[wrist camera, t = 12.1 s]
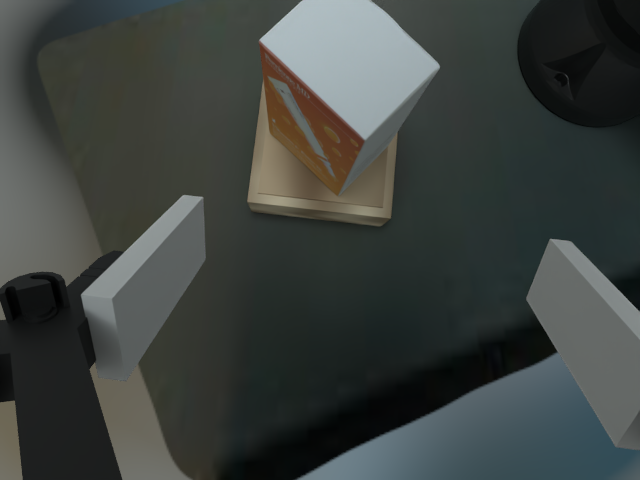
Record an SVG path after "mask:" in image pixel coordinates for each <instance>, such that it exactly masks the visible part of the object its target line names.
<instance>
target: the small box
mask: <svg viewBox="0 0 640 480" xmlns="http://www.w3.org/2000/svg"><path fill="white" fill-rule="evenodd" d="M259 45H260V53H261V61H262V70H263V80H264V89H265V96H266V106H267V114H268V123H269V132H270V134H271V135H273V136H274V137H275V138H276V139H277V140H278V141H280V142H281V143H282V144H283V145H284V146H285V147H286V148H287V149H288V150H290V151H291V152H292V153H293V154H294V155H295V156H296V157H297V158H298V159H299V160H300V161H301V162H302V163H303V164H305V165H306V166H307V167H308V168H309V169H310V170H311V171H312V172H313V173H314V174H315V175H316V176H317V177H318V178H319V179H320V180H321V181H322V182H323V183H324V184H325V185H326V186H327V187H328V188H329V189H330V190H331V191H332V192H333V193H334V194H335V195H337V196H339V195H341V194H342V193H343V191H344V190H345V189H346V188H347V187H348V186H349V185H350V184H351V183H352V182H353V181H354V180H355V179H356V178H357V177H358V176H359V175H360V174H361V173H362V172H363V171H364V170H365V169H366V168H367V167H368V166H369V165H370V164H371V163H372V162H373V161H374V160H375V159H376V158H377V157H378V156H379V155H380V154H381V153H382V152H383V151H384V150H385V149H386V148H387V146H388V145H389V144H390V142H391V141H392V139H393V138H394V136H395V135H396V133H397V132H398V130H399V129H400V127H401V126H402V124H403V123H404V121H405V120H406V118H407V116H408V115H409V113H410V112H411V110H412V109H413V107H414V106H415V104H416V103H417V101H418V100H419V98H420V97H421V95H422V94H423V92H424V91H425V89H426V88H427V86H428V85H429V83H430V82H431V80H432V79H433V77H434V76H435V74H436V73H437V72H438V70H439V69H440V66H439V64H438V62H436V61H435V60H434V59H433V58H432V57H431V56H430V55H429V54H428V53H427V52H426V51H425V50H424V49H423V48H422V47H421V46H420V45H419V44H418V43H417V42H415V41H414V40H413V39H412V38H411V37H410V36H409V35H408V34H407V33H406V32H405V31H404V30H403V29H402V28H401V27H400V26H399V25H398V24H397V23H396V22H395V21H394V20H393V19H392V18H391V17H390V16H389V15H388V14H387V13H386V12H385V11H383V10H382V9H381V8H380V7H378V6H377V5H376V4H375V3H373V2H372V1H371V0H302V1H301V2H300V3H299V4H298V5H297V6H296V7H295V8H294V9H293V10H291V11H290V12H289V13H288V14H287V15H286V16H285V17H284V18H283V19H282V20H281V21H279V22H278V23H277V24H276V25H275V26H274V27H273V28H272V29H271V30H270V31H269V32H268V33H267V34H265V35H264V36H263V37H262V38H261V39H260V40H259Z"/></svg>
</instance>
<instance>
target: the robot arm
mask: <svg viewBox="0 0 640 480" xmlns="http://www.w3.org/2000/svg"><path fill="white" fill-rule="evenodd" d="M518 55H519V62H520V66H521V70H522V73H523V75H524V78H525V80H526V82H527V84H528V85H529V87H530V89H531V90H532V92H533V93H534V94H535V96H536V97H537V98H538V99H539V100H540V101H541V102H542V103H543V104H544V105H545V106H546V107H547V108H548V109H550V110H551V111H552V112H554V113H555V114H557V115H558V116H560V117H562V118H564V119H566V120H568V121H571V122H573V123H577V124H580V125H585V126H592V127H605V126H612V125H616V124H619V123H622V122H625V121H627V120H629V119H631V118H633V117H635V116H636V115H638V114H640V0H540V1H539V2H538V4H537V5H536V6H535V7H534V8H533V10H532V11H531V12H530V13H529V15H528V16H527V18H526V20H525V22H524V24H523V26H522V29H521V32H520V36H519V43H518ZM205 260H206V255H205V230H204V206H203V197H197V196H188V195H183V196H182V197H181V198H180V199H179V200H178V201H177V202H176V203H175V204H174V205H173V206H172V207H171V208H169V209H168V210H167V211H166V212H165V213H164V214H163V215H162V216H161V217H160V218H159V219H158V220H157V221H156V222H155V223H154V224H153V225H152V226H151V227H150V228H149V229H148V230H147V231H146V232H145V233H144V234H143V235H142V236H141V237H140V238H139V239H138V240H137V241H136V242H134V243H133V244H132V245H131V246H130V247H129V248H128V249H127V250H126V251H125V252H121V251H112V252H110V253H108V254H106V255H104V256H102V257H100V258H98V259H97V260H96V261H95V262H94V263H93V264H92V265H90V266H89V269H86V270H85V271H84V272H83V273H81V275H80V277H77V278H76V279H75V280H74V281H73V282H71V284H69V285H68V286H67V287H66V285H65V281H64V279H63V278H62V276H61V275H59V274H56V273H53V272H37V273H29V274H26V275H23V276H19V277H17V278H14V279H13V280H11V281H8V282H7V283H6V284H5V285H3V286H2V287H1V288H0V302H1V305H2V308H3V311H4V314H5V317H6V320H0V402H6V401H13V400H15V405H16V415H17V425H18V436H19V446H20V456H21V466H22V476H23V480H122V477H121V474H120V471H119V467H118V463H117V460H116V457H115V454H114V450H113V447H112V443H111V440H110V437H109V433H108V430H107V427H106V423H105V420H104V417H103V413H102V410H101V407H100V403H99V400H98V397H97V393H96V390H95V387H94V383H93V380H92V377H91V373H90V370H89V369H90V368H91V366H92V365H93V364H94V362H95V363H96V368H97V373H98V377H99V378H105V379H113V380H120V381H126V380H127V379H128V377H129V376H130V374H131V373H132V371H133V370H134V368H135V367H136V365H137V364H138V362H139V361H140V359H141V358H142V356H143V355H144V353H145V351H146V350H147V348H148V347H149V345H150V344H151V342H152V341H153V339H154V338H155V336H156V335H157V333H158V332H159V330H160V328H161V327H162V325H163V324H164V322H165V321H166V319H167V318H168V316H169V315H170V313H171V312H172V310H173V309H174V307H175V305H176V304H177V302H178V301H179V299H180V298H181V296H182V295H183V293H184V292H185V290H186V289H187V287H188V286H189V284H190V283H191V281H192V279H193V278H194V276H195V275H196V273H197V272H198V270H199V269H200V267H201V266H202V264H203V263H204V261H205ZM526 300H527V302H528V303H529V305H530V306H531V308H532V310H533V311H534V313H535V315H536V316H537V318H538V320H539V321H540V323H541V325H542V326H543V328H544V330H545V331H546V333H547V334H548V336H549V338H550V339H551V341H552V343H553V344H554V346H555V348H556V349H557V351H558V353H559V354H560V356H561V358H562V359H563V361H564V362H565V364H566V366H567V367H568V369H569V371H570V372H571V374H572V376H573V377H574V379H575V381H576V382H577V384H578V385H579V387H580V389H581V390H582V392H583V394H584V395H585V397H586V399H587V400H588V402H589V404H590V405H591V407H592V408H593V410H594V412H595V413H596V415H597V417H598V418H599V420H600V422H601V423H602V425H603V427H604V428H605V430H606V432H607V433H608V435H609V437H610V438H611V440H612V442H613V443H614V445H615V446H616V447H619V448H627V449H634V450H640V312H639V311H638V310H637V309H636V308H635V307H634V306H633V305H632V304H631V303H630V302H629V301H628V299H627V298H626V297H625V296H624V295H623V294H622V293H621V292H620V291H619V290H618V289H617V288H616V287H615V286H614V285H613V284H612V283H611V282H610V281H609V280H608V279H607V278H606V277H605V276H604V275H603V274H602V273H601V272H600V271H599V270H598V269H597V268H596V267H595V266H594V265H593V264H592V263H591V262H590V261H589V259H588V258H587V257H586V256H585V255H584V254H583V253H582V252H581V251H580V250H579V249H578V248H577V247H576V246H575V245H574V244H573V243H572V242H571V241H565V240H556V239H550V240H549V242H548V245H547V247H546V250H545V252H544V255H543V257H542V260H541V263H540V265H539V268H538V270H537V273H536V275H535V278H534V280H533V283H532V285H531V288H530V290H529V293H528V295H527V298H526Z"/></svg>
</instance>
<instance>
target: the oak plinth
mask: <svg viewBox="0 0 640 480" xmlns="http://www.w3.org/2000/svg"><path fill="white" fill-rule="evenodd" d="M397 135H398V132H397V133H396V135H395V136H394V138H393V139H392V141H391V142H390V144H389V145H388V146H387V148H386V149H385V150H384V151H383V152H382V153H381V154H380V155H379V156H378V157H377V158H376V159H375V160H374V161H373V162H372V163H371V164H370V165H369V166H368V167H367V168H366V169H365V170H364V171H363V172H362V173H361V174H360V175H359V176H358V177H357V178H356V179H355V180H354V181H353V182H352V183H351V184H350V185H349V186H348V187H347V188H346V189H345V190H344V191H343V193H342V194H341V195H339V196H337V195H335V194H334V193H333V192H332V191H331V190H330V189H329V188H328V187H327V186H326V185H325V184H324V183H323V182H322V181H321V180H320V179H319V178H318V177H317V176H316V175H315V174H314V173H313V172H312V171H311V170H310V169H309V168H308V167H307V166H306V165H305V164H303V163H302V162H301V161H300V160H299V159H298V158H297V157H296V156H295V155H294V154H293V153H292V152H291V151H290V150H288V149H287V148H286V147H285V146H284V145H283V144H282V143H281V142H280V141H278V140H277V139H276V138H275V137H274V136H273V135H271V134H270V132H269V123H268V114H267V106H266V96H265V89H264V80H263V86H262V93H261V101H260V109H259V116H258V124H257V132H256V139H255V147H254V155H253V162H252V170H251V178H250V185H249V193H248V201H247V202H248V204H249V207H250V209H251V211H252V212H258V213H267V214H276V215H285V216H293V217H302V218H311V219H320V220H328V221H337V222H346V223H355V224H363V225H372V226H382V225H383V224H384V223H386V222H387V221H388V220H390V219H391V211H392V198H393V185H394V173H395V160H396V148H397Z"/></svg>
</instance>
